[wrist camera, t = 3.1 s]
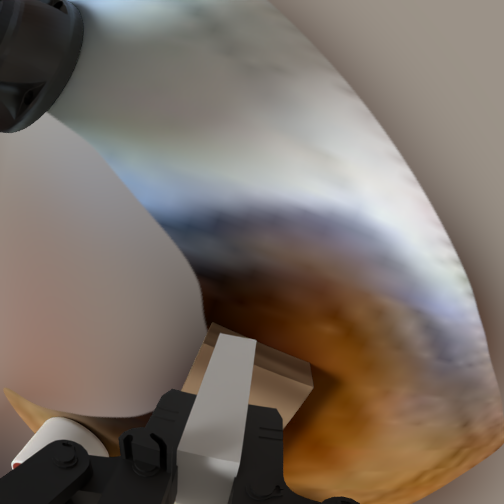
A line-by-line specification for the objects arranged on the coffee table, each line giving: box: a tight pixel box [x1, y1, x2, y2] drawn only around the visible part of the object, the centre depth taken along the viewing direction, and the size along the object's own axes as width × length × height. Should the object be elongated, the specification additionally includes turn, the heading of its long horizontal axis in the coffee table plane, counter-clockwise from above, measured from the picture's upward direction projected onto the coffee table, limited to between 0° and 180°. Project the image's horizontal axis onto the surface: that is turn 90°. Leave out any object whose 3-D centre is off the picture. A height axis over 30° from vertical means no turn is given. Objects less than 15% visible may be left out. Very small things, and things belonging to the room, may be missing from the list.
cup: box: [12, 417, 109, 469], centre depth 26 cm, size 10×10×10 cm
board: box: [181, 322, 314, 429], centre depth 26 cm, size 15×9×4 cm, turn 155°
